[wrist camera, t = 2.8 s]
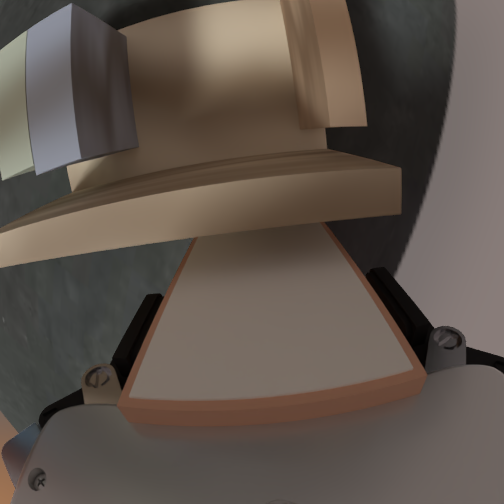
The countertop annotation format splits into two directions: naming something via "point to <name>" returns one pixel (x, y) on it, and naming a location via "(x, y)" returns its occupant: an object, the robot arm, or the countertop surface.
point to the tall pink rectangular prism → (268, 336)
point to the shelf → (186, 126)
